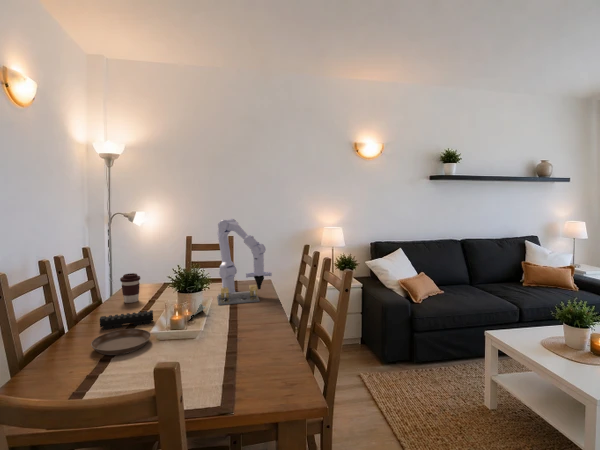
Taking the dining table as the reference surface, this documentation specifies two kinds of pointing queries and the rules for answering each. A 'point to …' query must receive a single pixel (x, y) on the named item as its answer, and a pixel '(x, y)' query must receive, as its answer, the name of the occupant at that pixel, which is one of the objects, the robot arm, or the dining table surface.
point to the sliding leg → (253, 290)
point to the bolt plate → (237, 300)
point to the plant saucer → (121, 341)
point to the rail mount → (126, 319)
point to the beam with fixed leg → (232, 294)
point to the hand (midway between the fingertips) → (259, 288)
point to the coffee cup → (130, 287)
